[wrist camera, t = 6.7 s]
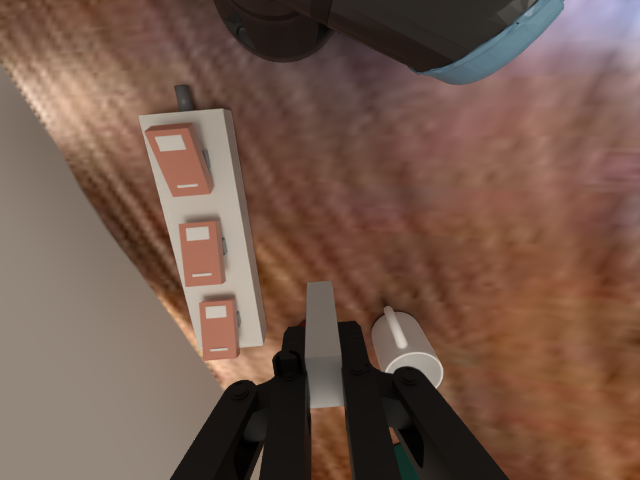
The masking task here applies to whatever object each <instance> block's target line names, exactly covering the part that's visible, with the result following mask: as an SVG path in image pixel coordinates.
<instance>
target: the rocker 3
mask: <svg viewBox="0 0 640 480" xmlns="http://www.w3.org/2000/svg"><path fill="white" fill-rule="evenodd" d="M199 310H200V323H201V336H202V348H203V361H207V360H219V359H232V358H237V357H238V355H239V354H240V346H239V333H238V321H237V308H236V298H229V299H217V300H204V301H202V302H200V303H199Z"/></svg>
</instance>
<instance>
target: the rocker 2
mask: <svg viewBox="0 0 640 480" xmlns="http://www.w3.org/2000/svg"><path fill="white" fill-rule="evenodd" d="M179 233H180V242H181V251H182V261H183V270H184V279H185V287H193V286H205V285H218V284H223V283H224V282H226V276H225V266H224V256H223V246H222V236H221V227H220V221H209V222H197V223H185V224H179Z"/></svg>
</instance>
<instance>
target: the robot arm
mask: <svg viewBox="0 0 640 480" xmlns="http://www.w3.org/2000/svg"><path fill="white" fill-rule="evenodd" d="M214 2H215V5H216V7H217V10H218V12H219V14H220V16H221V18H222V20H223V22H224V23H225V25H226V26H227V28H228V29H229V31H230V32H231V33H232V34H233V36H234V37H235V38H236V39H237V40H238V42H239V43H240V44H241V45H243V46H244V47H245V48H246V49H247V50H249V51H250V52H251V53H253V54H255V55H256V56H259V57H261V58H263V59H266V60H269V61H274V62H293V61H298V60H301V59H304V58H306V57H308V56H310V55H312V54H313V53H315V52H316V51H317V50H319V49H320V48H321V47H322V46H323V45H324V44H325V43H326V42H327V41H328V39H329V38H330V37H331V35H332V34H333V32H334V30H335V31H337V32H339V33H341V34H343V35H345V36H347V37H349V38H351V39H353V40H355V41H358V42H360V43H362V44H364V45H366V46H368V47H370V48H372V49H374V50H376V51H378V52H380V53H382V54H384V55H386V56H389V57H391V58H393V59H395V60H397V61H399V62H401V63H403V64H405V65H407V66H408V67H409V69H410V70H411V71H413V72H415V73H416V74H422V75H429V76H431V77H433V78H436V79H438V80H441V81H443V82H445V83H448V84H452V85H453V84H454V85H464V84H470V83H473V82H476V81H479V80H481V79H483V78H486V77H487V76H489V75H491V74H493V73H495V72H496V71H498V70H499V69H501V68H502V67H504V66H505V65H506V64H508V63H509V62H510V61H512V60H513V59H514V58H516V57H517V56H518V55H519V54H520V53H522V52H523V51H524V50H525V49H526V48H527V47H528V46H529V45H530V44H532V43H533V42H534V41H535V40H536V39H537V38H538V37H539V36H540V35H541V34H542V33H543V32H544V31H545V30H546V29H547V28H548V27H549V25H550V24H551V23H552V22H553V21H554V20H555V19H556V17H557V16H558V15H559V14H560V13H561V12H562V10H563V9H564V4H563V2H564V0H214ZM272 363H273V369H274V375H275V376H274V377H273V378H272V379H270V380H269V381H267V382H265V383H262V384H259V385H255V384H254V383H253V382H252V381H249V380H240V381H237V382H235V383H233V384H232V385H230V386H229V387H228V388H227V389H226V390H225V392H224V393H223V395H222V397H221V398H220V400H219V401H218V403H217V405H216V406H215V408H214V409H213V411H212V413H211V414H210V416H209V417H208V419H207V421H206V422H205V424H204V425H203V427H202V429H201V430H200V432H199V433H198V435H197V437H196V438H195V440H194V441H193V443H192V445H191V446H190V448H189V449H188V451H187V453H186V454H185V456H184V458H183V459H182V461H181V463H180V464H179V466H178V467H177V469H176V470H175V472H174V474H173V475H172V477H171V478H170V480H250V478H251V475H252V473H253V470H254V467H255V465H256V463H257V460H258V458H259V455H260V452H261V450H262V447H263V445H264V450H263V456H262V463H261V470H260V476H259V480H311V413H310V407H311V408H321V407H334V406H344V407H345V422H346V430H347V437H348V446H349V455H350V464H351V473H352V480H402V477H401V474H400V470H399V466H398V462H397V458H396V454H395V450H394V446H393V443H392V439H391V435H390V431H389V427H392V428H393V429H394V432H395V434H396V436H397V437H398V439H399V441H400V443H401V445H402V447H403V448H404V450H405V452H406V454H407V456H408V458H409V460H410V461H411V463H412V465H413V467H414V469H415V471H416V472H417V474H418V476H419V478H420V480H509V478H508V477H507V476H506V475H505V474H504V472H503V471H502V470H501V469H500V467H499V466H498V465H497V464H496V462H495V461H494V460H493V459H492V457H491V456H490V455H489V454H488V452H487V451H486V450H485V449H484V448H483V446H482V445H481V444H480V443H479V441H478V440H477V439H476V438H475V436H474V435H473V434H472V433H471V431H470V430H469V429H468V428H467V426H466V425H465V424H464V423H463V422H462V420H461V419H460V418H459V417H458V415H457V414H456V413H455V412H454V410H453V409H452V408H451V407H450V405H449V404H448V403H447V402H446V400H445V399H444V398H443V397H442V395H441V394H440V393H439V392H438V391H437V389H436V388H435V387H434V386H433V384H432V383H431V382H430V381H429V379H428V378H427V377H426V376H425V374H424V373H422V372H421V371H420V370H419V369H416V368H414V367H410V366H403V367H400V368H397V369H396V370H395V371H394V372H393V374H392V373H386V372H382V371H380V370H378V369H376V368H374V367H373V366H372V365H371V363H370V361H369V358H368V354H367V350H366V346H365V342H364V338H363V335H362V330H361V326H360V325H359V324H358V323H357V322H356V321H348V322H337V318H336V310H335V303H334V295H333V288H332V281H322V282H310V283H307V306H306V326H294V327H288V329H287V330H286V331H285V333H284V336H283V343H282V350H281V351H279V352H278V353H277V354H276V355H275V356H274V357H273V359H272ZM264 442H265V443H264Z"/></svg>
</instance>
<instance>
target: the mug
mask: <svg viewBox="0 0 640 480" xmlns="http://www.w3.org/2000/svg"><path fill="white" fill-rule="evenodd" d="M384 313H385V315H383V316H382V317H380V318H379V319H378V320H377V321H376V322H375V324H374V326H373V328H372V332H371V337H372V342H373V346H374V349H375V353H376V356H377V359H378V363H379V366H380V370H381V371H382V372H386V373H392V374H393V372H394V371H395V370H396V369H397V368H400V367H403V366H410V367H414V368H416V369H419V370H420V371H421V372H422V373H424V374H425V376H426V377H427V378H428V379H429V381H430V382H431V383H432V384H433V386H434V387H435V388H437V387H438V386H439V384H440V383H441V381H442V378H443V367H442V365H441V363H440V361H439V359H438V357H437V356H436V354H435V352H434V350H433V349H432V347H431V345H430V343H429V341H428V340H427V338H426V336H425V334H424V333H423V331H422V329H421V327H420V325H419V324H418V322H417V321H416V320H415V319H414V318H413V317H412V316H411V315H409V314H407V313H404V312H394V311H393V309H392V308H391V307H390V306H386V307H385V308H384Z"/></svg>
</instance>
